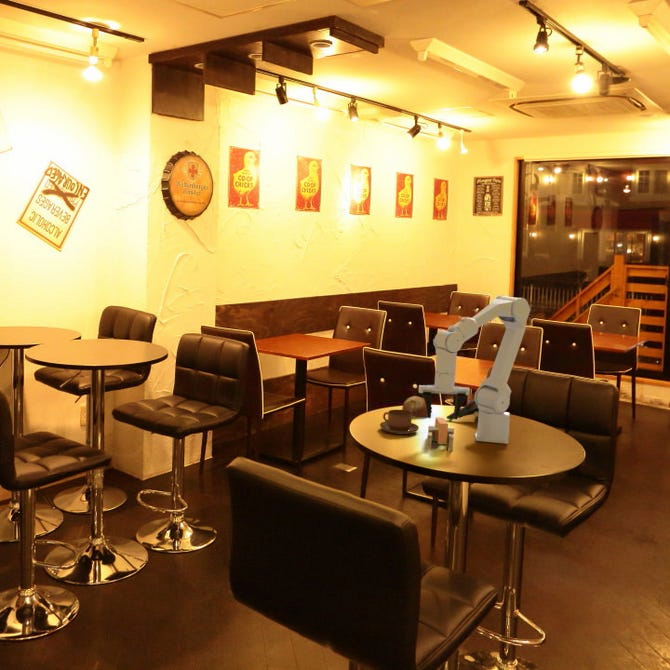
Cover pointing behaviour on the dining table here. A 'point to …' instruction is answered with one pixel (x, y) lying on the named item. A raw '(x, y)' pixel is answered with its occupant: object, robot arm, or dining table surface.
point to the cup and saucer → (399, 422)
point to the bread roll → (416, 406)
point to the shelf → (431, 437)
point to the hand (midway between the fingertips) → (442, 417)
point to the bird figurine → (467, 410)
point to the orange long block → (441, 430)
